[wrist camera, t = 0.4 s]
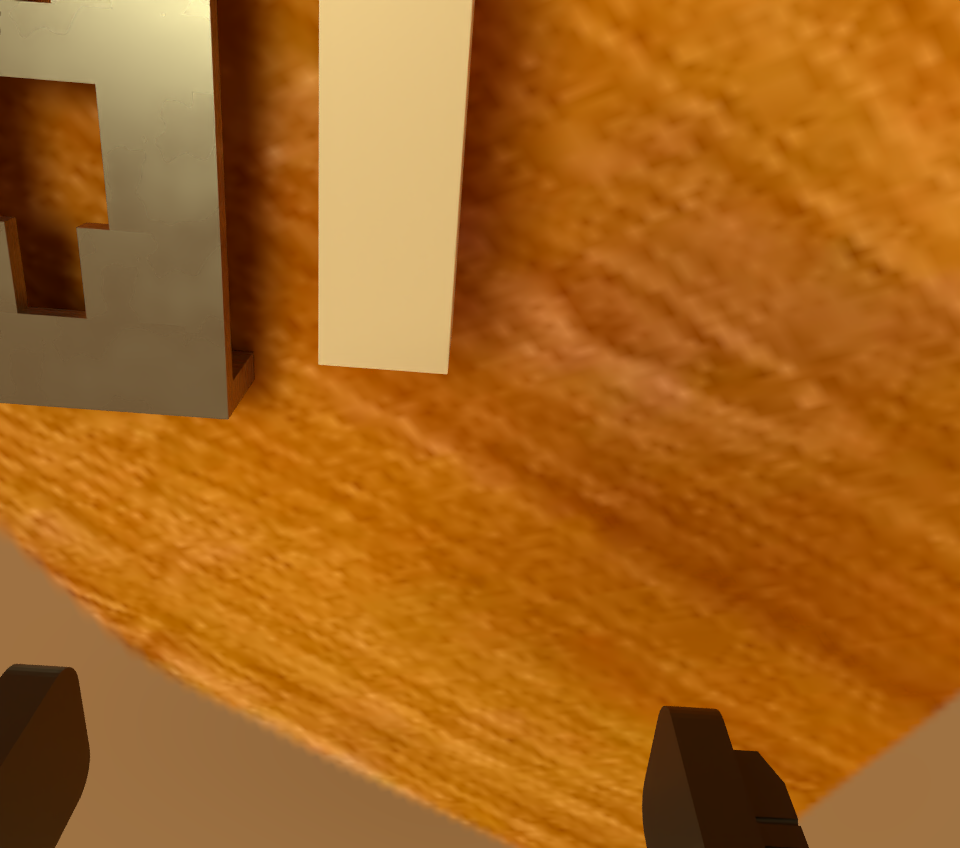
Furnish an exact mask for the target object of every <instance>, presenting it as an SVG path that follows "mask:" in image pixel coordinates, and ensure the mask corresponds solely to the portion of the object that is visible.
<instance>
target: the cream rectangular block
mask: <svg viewBox="0 0 960 848" xmlns="http://www.w3.org/2000/svg"><path fill="white" fill-rule="evenodd" d="M474 6H475V0H319V345H318V364H319V365H332V366H345V367H359V368H372V369H385V370H399V371H412V372H425V373H439V374H447V373H448V363H449V354H450V345H451V336H452V327H453V313H454V299H455V284H456V269H457V255H458V240H459V225H460V211H461V196H462V182H463V167H464V152H465V138H466V123H467V108H468V94H469V79H470V64H471V50H472V35H473V20H474Z"/></svg>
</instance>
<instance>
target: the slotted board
mask: <svg viewBox="0 0 960 848" xmlns="http://www.w3.org/2000/svg"><path fill="white" fill-rule="evenodd" d="M0 76H5V77H17V78H29V79H41V80H53V81H65V82H77V83H89V84H95V86H96V96H97V107H98V117H99V127H100V138H101V148H102V158H103V168H104V179H105V189H106V199H107V210H108V220H109V224H98V223H84V224H82V225H80V226H78V227H76V228H77V237H78V246H79V255H80V264H81V273H82V281H83V290H84V299H85V308H86V311H78V310H65V309H52V308H38V307H28V301H27V294H26V287H25V280H24V273H23V265H22V258H21V251H20V244H19V237H18V230H17V223H16V217H9V216H0V403H10V404H24V405H37V406H51V407H65V408H79V409H92V410H106V411H120V412H133V413H147V414H161V415H174V416H188V417H202V418H216V419H229V418H230V416H231V415H232V413H233V411H234V410H235V408H236V407H237V405H238V404H239V402H240V401H241V399H242V398H243V396H244V394H245V393H246V391H247V390H248V388H249V387H250V385H251V384H252V382H253V381H254V355H253V352H249V351H236V350H231V328H230V304H229V280H228V256H227V233H226V209H225V185H224V161H223V137H222V113H221V89H220V65H219V41H218V18H217V0H51V3H44V2H32V1H21V0H0Z"/></svg>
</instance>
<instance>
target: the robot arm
mask: <svg viewBox="0 0 960 848" xmlns="http://www.w3.org/2000/svg"><path fill="white" fill-rule="evenodd" d="M89 762H90V749H89V742H88V736H87V729H86V723H85V717H84V711H83V705H82V699H81V693H80V686H79V680H78V676H77V673H76V671H75V670H74V669H73V668H71V667H58V666H42V665H25V664H14V665H12V666H11V667H9V668H8V669H7V670H6V671H5V672H4V674H3V675H2V676H1V677H0V848H55V846H56V844H57V842H58V840H59V839H60V836H61V834H62V832H63V831H64V829H65V827H66V825H67V823H68V821H69V819H70V817H71V815H72V813H73V811H74V809H75V807H76V805H77V803H78V801H79V799H80V797H81V795H82V792H83V789H84V786H85V783H86V779H87V775H88V770H89ZM642 813H643V827H644V834H645V840H646V845H647V848H809V847H808V844H807V841H806V839H805V836H804V834H803V831H802V828H801V826H798V818H797V815H796V812H795V810H794V807H793V805H792V802H791V799H790V797H789V794H788V791H787V789H786V786H785V783H784V782H783V781H782V780H781V779H780V777H779V776H778V775H777V774H776V773H775V771H774V770H773V769H772V768H771V767H770V766H769V764H768V763H767V762H766V761H765V760H764V758H763V757H762V756H761V755H760V754H759V753H758V751H742V750H733V748H732V745H731V742H730V739H729V735H728V732H727V729H726V726H725V723H724V720H723V718H722V715H721V713H720V712H719V711H718V710H717V709H707V708H691V707H675V706H663V707H662V708H661V710H660V713H659V716H658V721H657V725H656V730H655V735H654V739H653V744H652V749H651V753H650V758H649V763H648V767H647V772H646V777H645V781H644V788H643V801H642Z"/></svg>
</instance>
